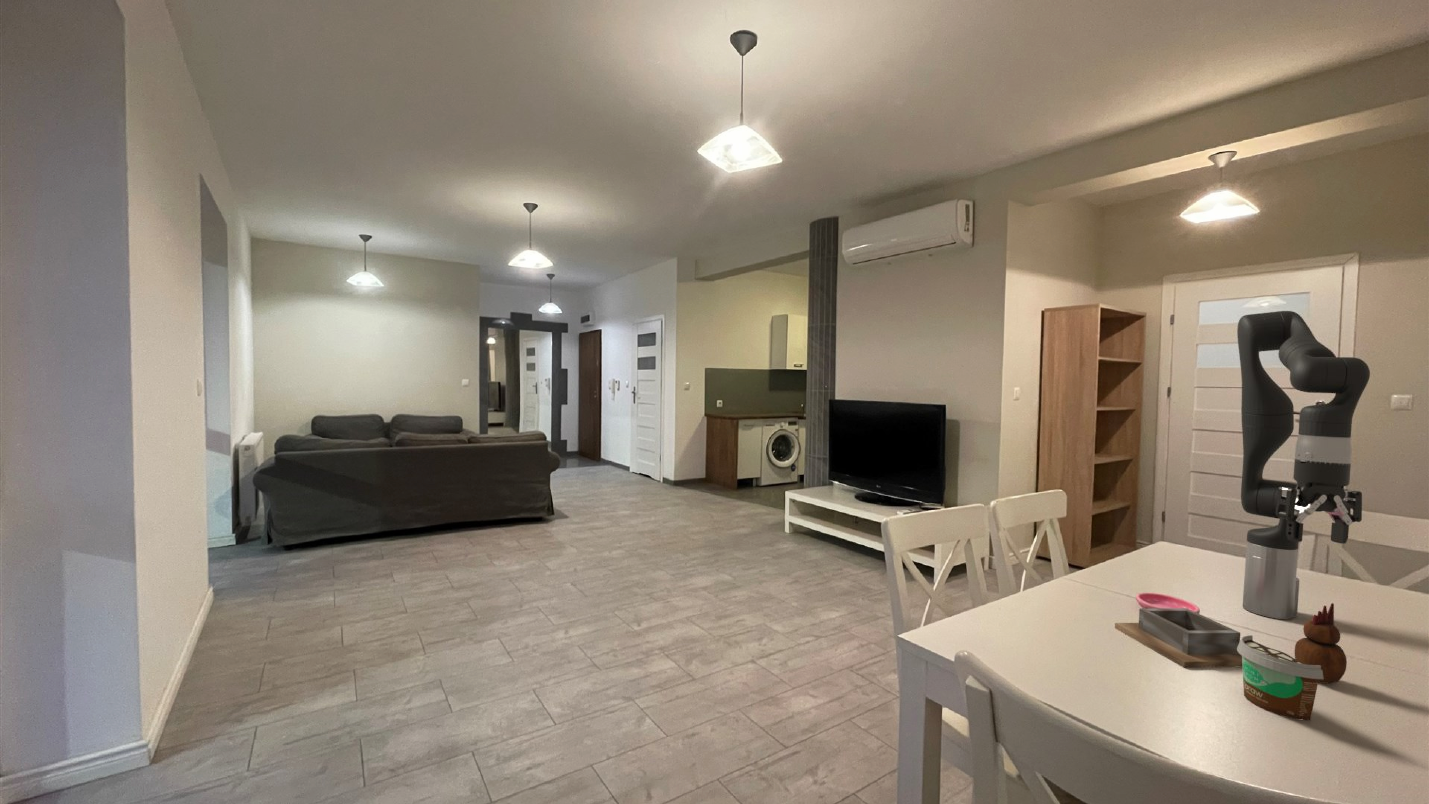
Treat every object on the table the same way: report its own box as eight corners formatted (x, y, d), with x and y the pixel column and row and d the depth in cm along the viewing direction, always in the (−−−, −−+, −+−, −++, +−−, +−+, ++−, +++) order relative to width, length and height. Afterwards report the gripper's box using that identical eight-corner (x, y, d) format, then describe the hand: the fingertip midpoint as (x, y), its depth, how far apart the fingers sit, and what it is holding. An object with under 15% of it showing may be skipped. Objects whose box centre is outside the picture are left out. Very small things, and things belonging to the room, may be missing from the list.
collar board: (1187, 627, 133) (1189, 603, 133) (1267, 666, 115) (1269, 638, 115) (1114, 628, 132) (1116, 603, 132) (1184, 667, 114) (1185, 639, 114)
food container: (1215, 686, 107) (1219, 634, 107) (1245, 685, 108) (1249, 633, 107) (1287, 726, 95) (1290, 668, 94) (1320, 725, 95) (1324, 667, 95)
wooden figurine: (1330, 675, 112) (1335, 600, 112) (1351, 690, 107) (1357, 611, 106) (1286, 668, 114) (1291, 595, 114) (1305, 683, 109) (1310, 606, 108)
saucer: (1175, 605, 147) (1176, 593, 147) (1212, 626, 134) (1213, 613, 134) (1124, 602, 148) (1124, 590, 148) (1156, 623, 136) (1157, 610, 136)
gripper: (1338, 458, 115) (1332, 538, 115) (1267, 455, 115) (1261, 535, 115) (1381, 463, 107) (1375, 548, 108) (1305, 460, 107) (1299, 545, 108)
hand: (1316, 541), depth 111 cm, fingers open, 8 cm apart
